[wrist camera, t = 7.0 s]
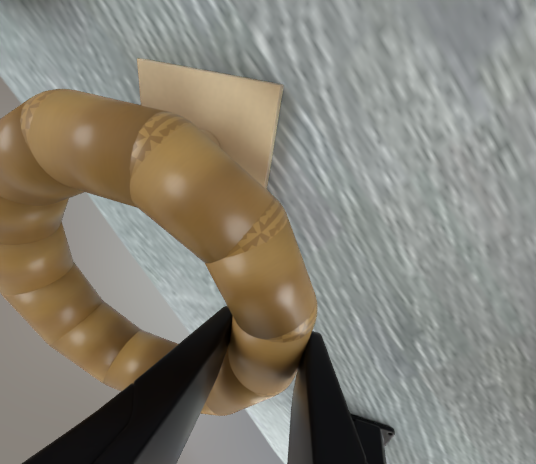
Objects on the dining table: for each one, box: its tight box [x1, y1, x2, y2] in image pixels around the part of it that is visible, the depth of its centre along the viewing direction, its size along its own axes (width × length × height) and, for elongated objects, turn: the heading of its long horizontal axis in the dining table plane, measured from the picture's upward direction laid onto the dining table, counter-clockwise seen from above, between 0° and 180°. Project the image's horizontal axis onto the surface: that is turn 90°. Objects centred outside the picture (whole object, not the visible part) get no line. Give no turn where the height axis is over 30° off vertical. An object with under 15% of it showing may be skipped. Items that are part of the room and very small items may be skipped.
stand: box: [137, 58, 284, 190], centre depth 16 cm, size 9×9×8 cm
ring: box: [0, 89, 317, 416], centre depth 9 cm, size 12×12×2 cm
